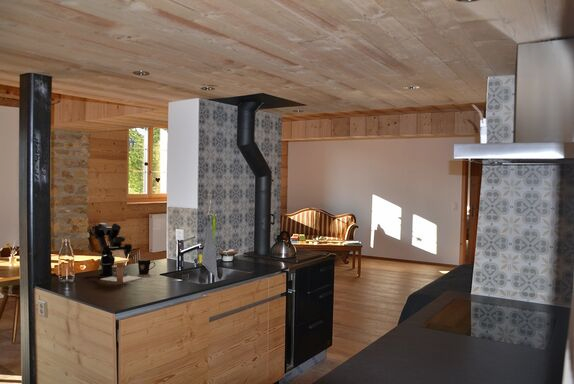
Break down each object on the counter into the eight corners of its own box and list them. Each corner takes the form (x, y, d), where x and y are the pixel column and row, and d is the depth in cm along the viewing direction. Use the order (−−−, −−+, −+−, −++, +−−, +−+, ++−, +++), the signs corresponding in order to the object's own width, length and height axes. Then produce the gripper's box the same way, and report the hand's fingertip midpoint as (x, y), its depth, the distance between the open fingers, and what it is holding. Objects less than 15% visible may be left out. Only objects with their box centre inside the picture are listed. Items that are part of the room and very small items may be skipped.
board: (100, 279, 306) (100, 275, 306) (118, 275, 321) (118, 271, 321) (124, 283, 298) (124, 278, 298) (142, 278, 314) (142, 273, 314)
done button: (114, 274, 315) (115, 268, 315) (119, 272, 319) (119, 267, 319) (120, 274, 314) (120, 268, 314) (124, 273, 318) (124, 267, 318)
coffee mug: (134, 274, 328) (135, 259, 327) (143, 272, 335) (144, 258, 335) (147, 275, 322) (147, 261, 322) (156, 273, 330) (156, 259, 330)
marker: (115, 284, 294) (115, 263, 294) (119, 282, 298) (119, 262, 298) (119, 284, 293) (120, 264, 293) (124, 283, 297) (124, 263, 296)
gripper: (102, 233, 303) (108, 250, 293) (130, 231, 314) (137, 248, 305) (98, 245, 308) (104, 262, 299) (126, 243, 320) (132, 260, 311)
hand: (119, 258), depth 303 cm, fingers open, 9 cm apart
